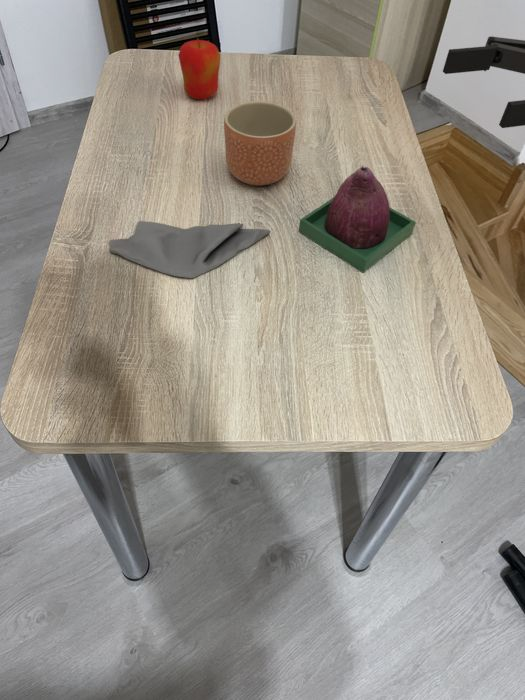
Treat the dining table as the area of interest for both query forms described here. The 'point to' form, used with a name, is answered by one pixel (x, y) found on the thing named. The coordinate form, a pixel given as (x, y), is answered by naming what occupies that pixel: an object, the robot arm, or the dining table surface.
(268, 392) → the dining table surface
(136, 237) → the cloth
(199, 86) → the apple
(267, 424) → the dining table surface
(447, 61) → the robot arm
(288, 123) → the planter
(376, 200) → the vegetable
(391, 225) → the green tray
